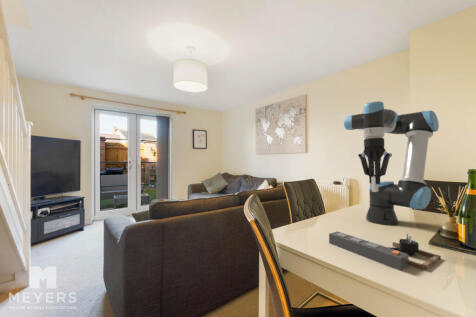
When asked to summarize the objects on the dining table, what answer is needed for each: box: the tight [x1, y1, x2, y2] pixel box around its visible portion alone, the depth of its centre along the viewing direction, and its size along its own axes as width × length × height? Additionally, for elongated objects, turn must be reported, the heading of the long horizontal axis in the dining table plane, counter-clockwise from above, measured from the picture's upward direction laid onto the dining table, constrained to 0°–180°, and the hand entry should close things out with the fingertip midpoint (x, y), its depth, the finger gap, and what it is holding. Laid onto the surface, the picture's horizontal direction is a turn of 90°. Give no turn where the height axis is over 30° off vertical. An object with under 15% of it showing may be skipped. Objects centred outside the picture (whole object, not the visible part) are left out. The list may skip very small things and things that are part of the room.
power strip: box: [328, 230, 410, 271], centre depth 80 cm, size 6×26×5 cm, turn 31°
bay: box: [392, 241, 442, 272], centre depth 76 cm, size 14×14×2 cm
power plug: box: [388, 233, 420, 257], centre depth 80 cm, size 6×8×12 cm
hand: (374, 191), depth 91 cm, fingers closed
